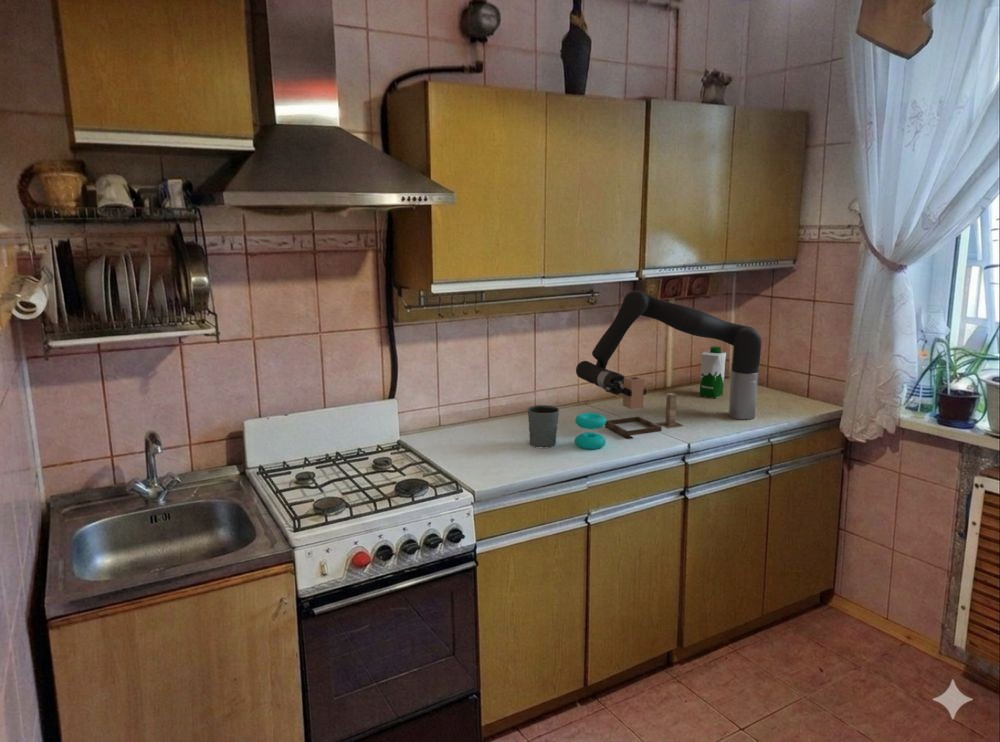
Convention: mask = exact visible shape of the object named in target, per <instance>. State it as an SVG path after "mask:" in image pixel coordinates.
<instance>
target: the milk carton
mask: <svg viewBox="0 0 1000 742" xmlns="http://www.w3.org/2000/svg"><path fill="white" fill-rule="evenodd" d="M726 355H727V352H723V351H722V347H721V346H710V350H707V351H704V352H701V353H700V357H701V358H700V359H701V364H700V365H701V366H700V381H699V382H700V383H699V395H701V396H700V397H703V396H707V397H706V398H709V397H713V398H712V399H715V398H716V397H718V396H720V395H722V394H724V387H725V386H724V385H725V371H726V369H725V366H726V359H727V356H726ZM722 396H723V395H722ZM720 397H721V396H720ZM718 398H719V397H718ZM716 399H717V398H716Z"/></svg>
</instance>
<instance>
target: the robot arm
mask: <svg viewBox="0 0 1000 742" xmlns="http://www.w3.org/2000/svg"><path fill="white" fill-rule="evenodd" d="M641 316H643V317H647V318H650V319H654V320H656V321H659V322H661V323H663V324H664V325H666V326H669V327H670V328H672V329H675V330H677V331H680V332H682V333H685V334H687V335H692V336H694V337H701V338H706V339H713V340H718V341H722V342H723V343H725V344H728V345H731V346H733V353H732V355H733V356H732V364H731V372H730V373H731V375H730V388H729V406H728V416H729V417H730V418H732V419H736V420H743V419H744V420H743V421H745V419H747V420H748V421H749V420H754V419H755V418H756V407H757V392H758V383H759V382H758V380H759V379H758V378H759V367H760V363H761V352H762V351H761V350H762V338H761V336H760V333H759V332H758V331H757V330H756V329H755V328H754V327H752V326H748V325H742V324H739V323H734V322H729V321H726V320H722V319H721V318H719V317H717V316H714V315H711V314H708V313H706V312H704V311H701V310H699V309H695V308H692V307H688V306H685V305H681V304H677V303H673V302H667V301H664V300H661V299H658V298H656V297H654V296H651V295H650V294H647V293H645V292H643V291H641V290H631V291H629V292H628V293H626V294H625V296H624V297H623V299H622V304H621V306H620V308H619V310H618V313H617V314H616V316H615V318H614V320H613V321H612V323H611V324H610V325H609V327H608V328H607V330H606V331H605V332H604V333H603V335H602V337H600V339H599V340H598V342H597V343H596V345H595V346H594V347H593V350H592V352H591V354H592V355H591V356H592V357H593V358H594V359H595V360H596V364H594V363H593V362H590V361H588V360H582V361H580V362H579V363H577V365H576V368H575V373H576V375H577V377H578V378H580V379H581V380H584V381H586V382H588V383H590V384H593V385H595V386H597V387H599V388H601V389H603V390H604V391H605V392H606V393H610V394H614V395H617V396H618V395H622V396H623V395H624V394H625V395H627V396H629V397H630V396H632V391H631V390H630V389H627V388H625V387H624V377H626V376H625V375H623V374H621V373H619V372H616V371H614V370H611V369H607V365H608V363H609V360H610V359H611V358H612V356H613V354H614V353H615V351H617V349H618V346H619V345H620V343H621V342H622V340H623V338H624V336H625V335H626V333H627V332H628V330H629V329H630V327H631V326H632V325H633V324H634V323H635V322H636V320H637V319H638V318H639V317H641ZM646 394H647V389H646V388H645V387H644V396H646Z"/></svg>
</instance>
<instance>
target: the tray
mask: <svg viewBox="0 0 1000 742" xmlns="http://www.w3.org/2000/svg"><path fill="white" fill-rule="evenodd" d="M635 422H639V423H641V424H643V425H644V426H647V427H646V428H644V427H643V428H638V429H632V430H627V429H624V428H623V427H621V426H619V425H620V424H627V423H629V424H630V423H635ZM662 427H663V426H662V425H659V424H657V423H654V422H652V421H650V420H648V419H645V418H643V417H641V416H633V417H632V416H631V417H625V418H617V419H611V420H606V424H605V425H604V428H605V429H607V430H608V431H611V432H612V431H613V433H614V434H616V435H617V436H620V437H622V438H624V439H626V440H628V439H633V438H634V437H633V436H637V435H644V434H652V433H657V432H662V431H663V430H662Z"/></svg>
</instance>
